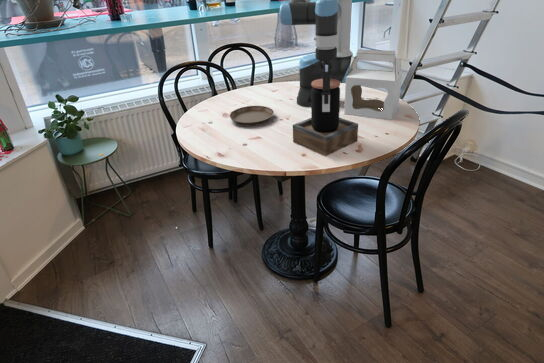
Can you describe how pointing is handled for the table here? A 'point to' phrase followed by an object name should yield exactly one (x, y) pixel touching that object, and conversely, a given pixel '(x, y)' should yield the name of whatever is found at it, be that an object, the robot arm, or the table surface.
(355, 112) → the gable box
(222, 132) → the table surface
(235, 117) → the plant saucer
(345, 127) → the square wooden box
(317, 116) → the coffee jar
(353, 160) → the table surface
